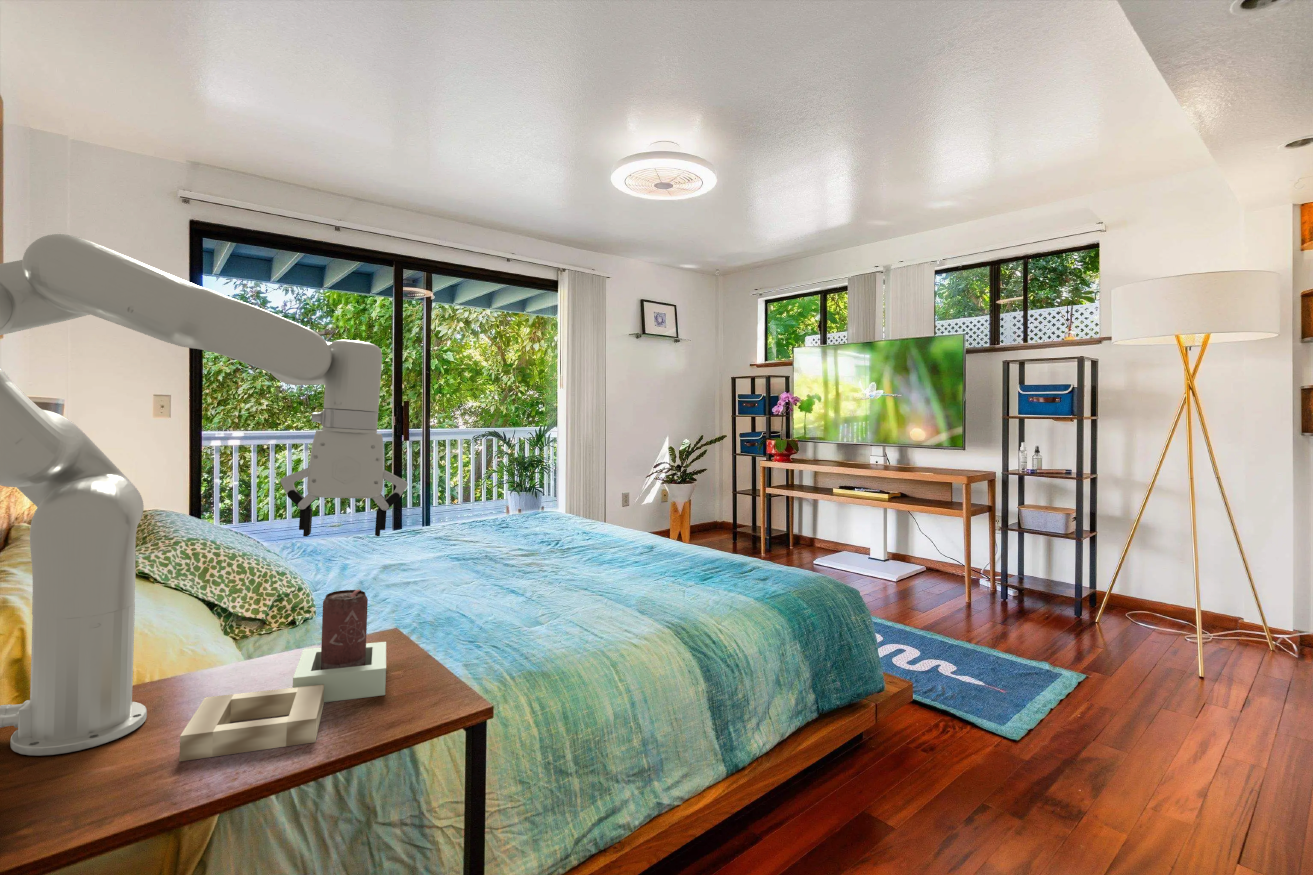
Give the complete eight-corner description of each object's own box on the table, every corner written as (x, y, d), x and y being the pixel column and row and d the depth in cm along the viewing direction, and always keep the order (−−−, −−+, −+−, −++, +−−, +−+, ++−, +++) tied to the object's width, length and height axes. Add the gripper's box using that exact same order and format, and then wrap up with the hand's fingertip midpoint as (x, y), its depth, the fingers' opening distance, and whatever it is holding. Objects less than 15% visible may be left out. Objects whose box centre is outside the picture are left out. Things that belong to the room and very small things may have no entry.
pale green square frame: (292, 706, 88) (293, 677, 88) (302, 674, 99) (303, 648, 99) (385, 694, 93) (386, 668, 93) (385, 665, 104) (386, 641, 104)
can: (373, 677, 98) (376, 589, 98) (349, 694, 92) (353, 600, 92) (337, 674, 99) (340, 586, 99) (311, 691, 93) (314, 597, 93)
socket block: (179, 761, 73) (180, 735, 73) (204, 719, 83) (205, 697, 83) (315, 742, 78) (316, 718, 78) (323, 705, 88) (324, 684, 88)
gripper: (281, 418, 88) (272, 539, 88) (412, 426, 95) (404, 539, 95) (288, 418, 95) (281, 531, 95) (410, 426, 102) (403, 531, 102)
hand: (343, 534), depth 95 cm, fingers open, 9 cm apart
